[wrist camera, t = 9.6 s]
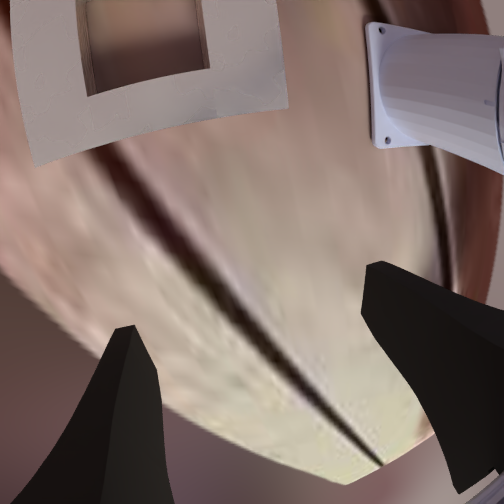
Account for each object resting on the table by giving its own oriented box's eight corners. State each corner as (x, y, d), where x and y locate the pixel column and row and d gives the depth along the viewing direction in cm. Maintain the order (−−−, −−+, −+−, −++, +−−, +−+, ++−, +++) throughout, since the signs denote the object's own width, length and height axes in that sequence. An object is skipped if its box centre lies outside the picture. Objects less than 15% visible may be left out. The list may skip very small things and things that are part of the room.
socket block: (251, -58, 10) (263, -74, 8) (273, 105, 15) (288, 108, 13) (26, -9, 8) (10, -19, 6) (50, 157, 13) (35, 167, 11)
